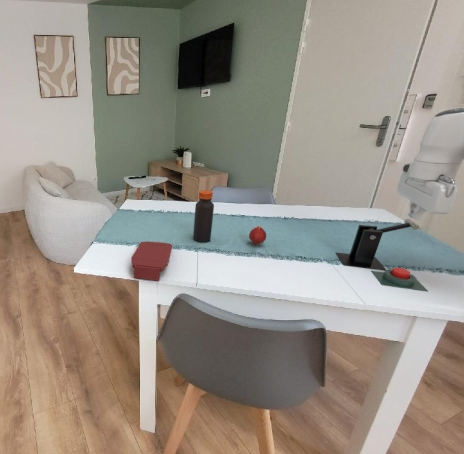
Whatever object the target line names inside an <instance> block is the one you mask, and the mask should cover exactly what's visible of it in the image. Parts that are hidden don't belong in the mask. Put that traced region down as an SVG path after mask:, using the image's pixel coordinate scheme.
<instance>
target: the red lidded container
mask: <svg viewBox="0 0 464 454" xmlns="http://www.w3.org/2000/svg"><path fill="white" fill-rule="evenodd" d="M172 249H173V244H171V243H168V242H160V241H149V240H148V241H141V242H140V243H139V244H138V246H137V248H136V249H135V251H134V252H133V254H132V256H131V258H130V262H131V266H132V269H133V278H135V279H142V280H149V281H158V282H159V281H160V279H161V272H163V271H164V270H165V269H166V267H168V265H169V261H170V257H171V253H172Z"/></svg>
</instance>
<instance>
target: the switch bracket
mask: <svg viewBox="0 0 464 454" xmlns="http://www.w3.org/2000/svg"><path fill="white" fill-rule="evenodd" d="M369 228H373V229H374V230H378V229H379V228H378V226H377V225H365V224H359V225H358V227H357V230H356V233H355V237H354V240H353V242H352V245H351V249H350V251H349V253H344V252H335V255H336V257H337V258H338V260H339V261H340V263H341V264H342V266H344V267H351V268H361V269H368V270H369V269H370V270H374V271H382V272H385V270H387V268H386V267H385V266H384V265H383V264H382V263H381V262H380V260H379V259H378V258H377V257H376V253H377V251H378V248H379V245H380V242H381V239H382V236H383V234H384V233H383V232H382V231H374V230H365V229H369ZM361 230H364V231H363V234H362V231H361Z"/></svg>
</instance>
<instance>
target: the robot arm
mask: <svg viewBox="0 0 464 454" xmlns="http://www.w3.org/2000/svg"><path fill="white" fill-rule="evenodd" d="M463 161H464V107H459V108H452V109H447V110H443V111H440V112H438V113H437V114H435V115H434V116H433V117H432V118H431V119H430V122H429V123H428V125H427V126H426V129H425V130H424V133H423V135H422V138H421V140H420V143H419V151H418V153H417V154H416V155H415V157H414V159H413V161H411V162H409V163H405V164H403V165H402V167H401V171H402V173H401V175H400V178H399V181H398V183H397V187H396V188H397V189H396V191H397V194H398V195H400V196H402V197H403V198H405V199H406V200H407V201H409V205H408V206H409V209H408V210H409V211H408V213H407V215H408V216H407V217H409V218H411V219H413V220H415V221H417V220H418V221H420V220H421V219H422V217H423V215H424V214H426V213H427V212H428V213H430V214H434V215H435V214H436V215H448V214H450V213H451V212H452V210H453V208H454V206H455V202H456V200H457V197H458V192H459V188H458V186H457V184H456V181H455V179H456V176H457V174H458V172H459V171H460V170H459V169H460V168H461V165H462V163H463Z"/></svg>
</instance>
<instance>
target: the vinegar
mask: <svg viewBox="0 0 464 454" xmlns="http://www.w3.org/2000/svg"><path fill="white" fill-rule="evenodd" d="M213 193H214V192H213V191H212V190H206V189H205V190H200V191H198V201H197V202H196V203H195V208H194V220H193V234H192V239H193V240H194V241H195V242H196V243H201V242H205V243H209V242H210V241H211V240H212V231H213V230H212V228H213V220H214V210H215V209H214V208H215V204H214V203H213V201H212V200H213Z"/></svg>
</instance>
